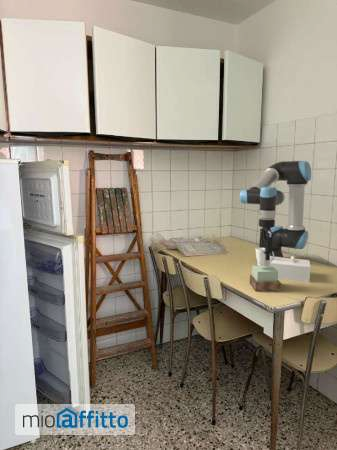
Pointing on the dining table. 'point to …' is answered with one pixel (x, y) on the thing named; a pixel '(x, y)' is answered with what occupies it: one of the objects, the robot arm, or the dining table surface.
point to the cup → (261, 256)
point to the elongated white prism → (291, 268)
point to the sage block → (265, 273)
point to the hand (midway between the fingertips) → (264, 264)
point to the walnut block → (265, 285)
